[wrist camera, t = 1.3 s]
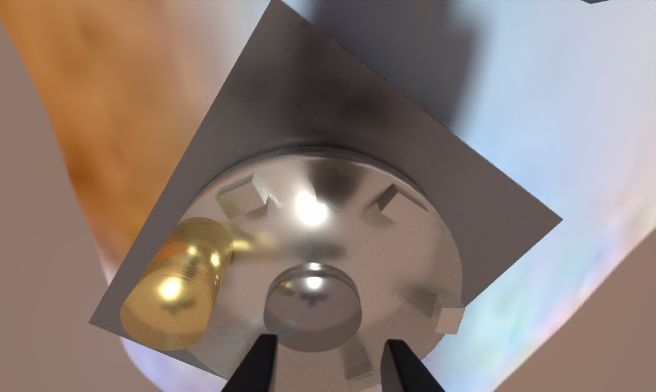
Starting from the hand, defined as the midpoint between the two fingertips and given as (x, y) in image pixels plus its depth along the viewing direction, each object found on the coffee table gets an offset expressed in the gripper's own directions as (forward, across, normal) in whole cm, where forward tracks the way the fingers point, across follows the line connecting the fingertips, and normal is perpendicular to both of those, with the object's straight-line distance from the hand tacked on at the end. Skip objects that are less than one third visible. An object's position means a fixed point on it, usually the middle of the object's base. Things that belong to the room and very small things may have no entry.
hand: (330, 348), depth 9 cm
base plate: (+13, 0, +6) cm, 15 cm away
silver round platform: (+11, 0, +7) cm, 13 cm away
